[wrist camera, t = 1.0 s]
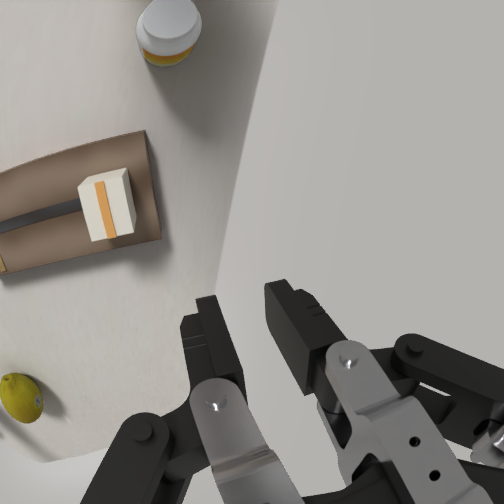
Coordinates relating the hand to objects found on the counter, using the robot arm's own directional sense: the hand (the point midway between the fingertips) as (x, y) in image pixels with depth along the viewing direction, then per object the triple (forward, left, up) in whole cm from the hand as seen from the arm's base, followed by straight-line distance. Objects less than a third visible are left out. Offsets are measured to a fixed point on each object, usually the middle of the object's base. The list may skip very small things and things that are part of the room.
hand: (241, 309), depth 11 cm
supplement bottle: (-14, 0, -23) cm, 27 cm away
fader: (0, -8, -20) cm, 21 cm away
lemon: (+27, -34, -23) cm, 49 cm away
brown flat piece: (0, -16, -23) cm, 28 cm away
